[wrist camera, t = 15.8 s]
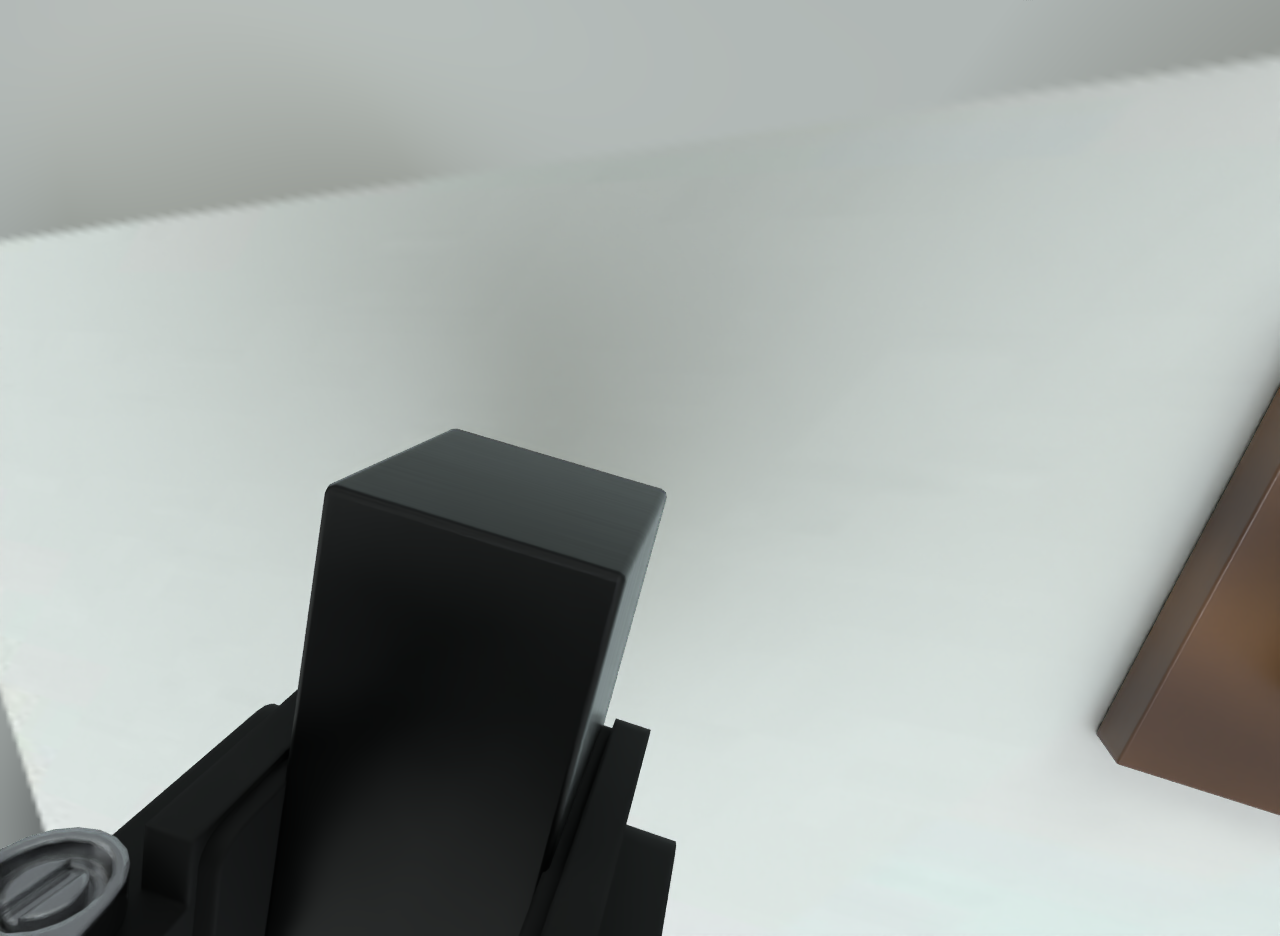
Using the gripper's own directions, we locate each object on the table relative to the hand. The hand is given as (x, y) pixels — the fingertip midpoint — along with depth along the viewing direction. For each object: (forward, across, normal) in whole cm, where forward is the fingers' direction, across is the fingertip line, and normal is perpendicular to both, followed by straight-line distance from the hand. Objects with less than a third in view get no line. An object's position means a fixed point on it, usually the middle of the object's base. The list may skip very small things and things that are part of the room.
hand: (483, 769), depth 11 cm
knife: (0, 0, +5) cm, 5 cm away
